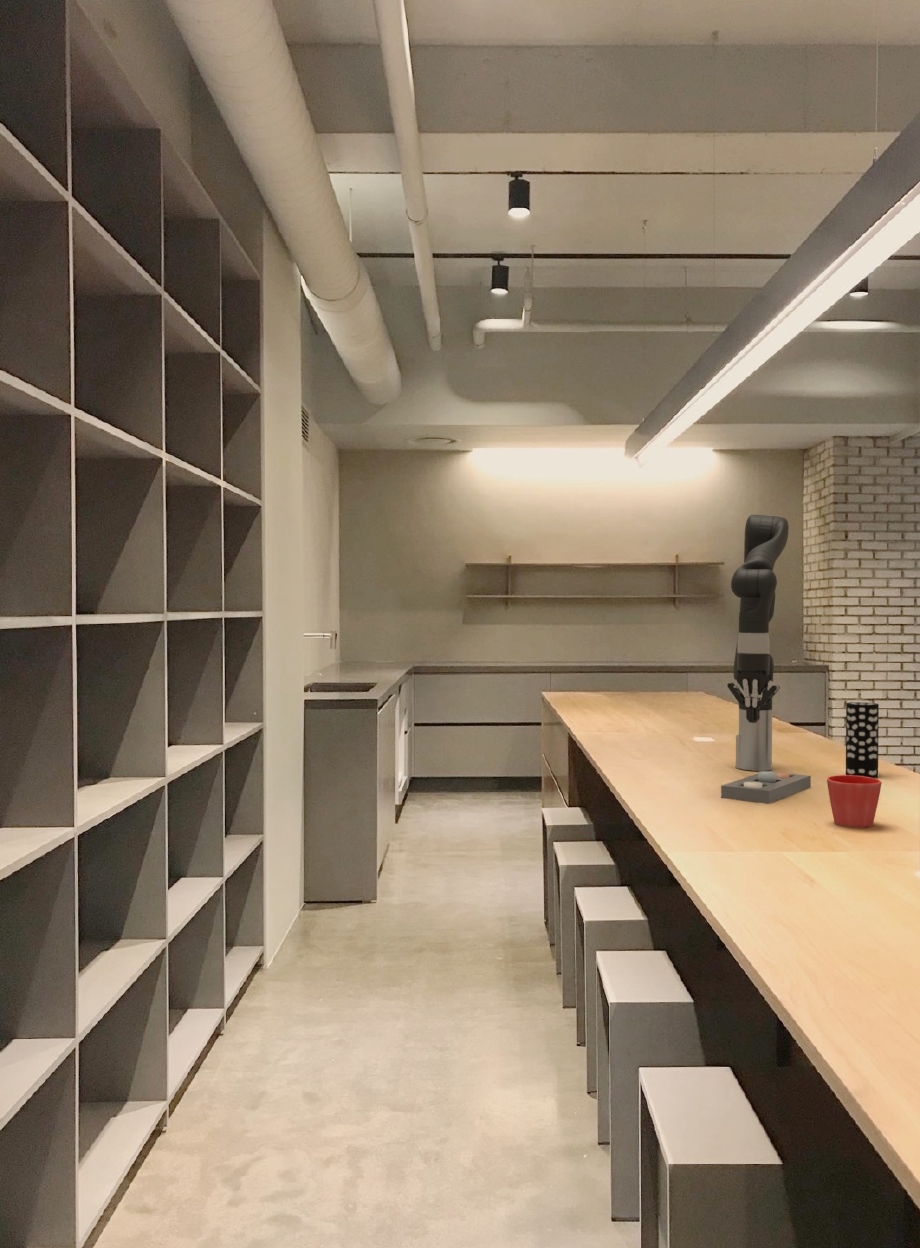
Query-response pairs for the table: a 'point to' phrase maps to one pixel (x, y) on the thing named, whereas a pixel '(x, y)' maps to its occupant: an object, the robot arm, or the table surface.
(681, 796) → the table surface
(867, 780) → the flower pot
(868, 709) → the white-spotted black cylinder
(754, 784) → the offwhite button
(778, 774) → the terracotta button
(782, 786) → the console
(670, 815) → the table surface
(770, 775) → the slate button
